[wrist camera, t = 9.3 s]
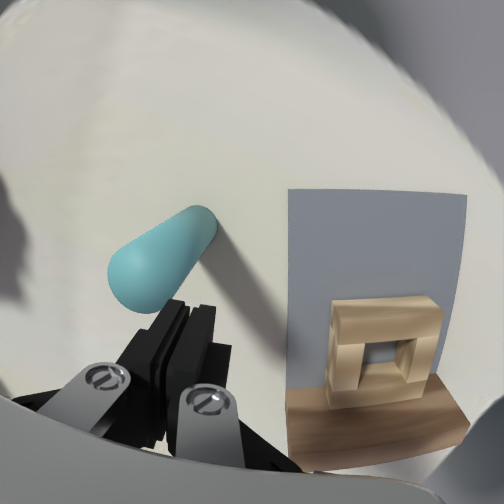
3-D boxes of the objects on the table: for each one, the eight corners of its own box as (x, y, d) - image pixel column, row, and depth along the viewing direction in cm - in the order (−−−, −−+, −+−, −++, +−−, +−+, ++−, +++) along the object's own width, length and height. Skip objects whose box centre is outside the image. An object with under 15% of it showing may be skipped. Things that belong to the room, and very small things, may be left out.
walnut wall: (429, 392, 32) (460, 443, 23) (285, 408, 33) (289, 473, 24) (435, 373, 32) (470, 424, 22) (286, 388, 32) (291, 454, 23)
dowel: (218, 244, 29) (178, 314, 15) (179, 245, 29) (114, 312, 16) (216, 204, 28) (171, 242, 14) (176, 206, 28) (102, 245, 15)
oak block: (408, 376, 31) (421, 397, 28) (323, 385, 32) (329, 409, 28) (426, 295, 29) (444, 311, 25) (331, 300, 29) (340, 320, 25)
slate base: (428, 389, 33) (429, 392, 32) (285, 405, 34) (285, 408, 33) (464, 194, 27) (467, 195, 26) (288, 189, 27) (288, 189, 27)
